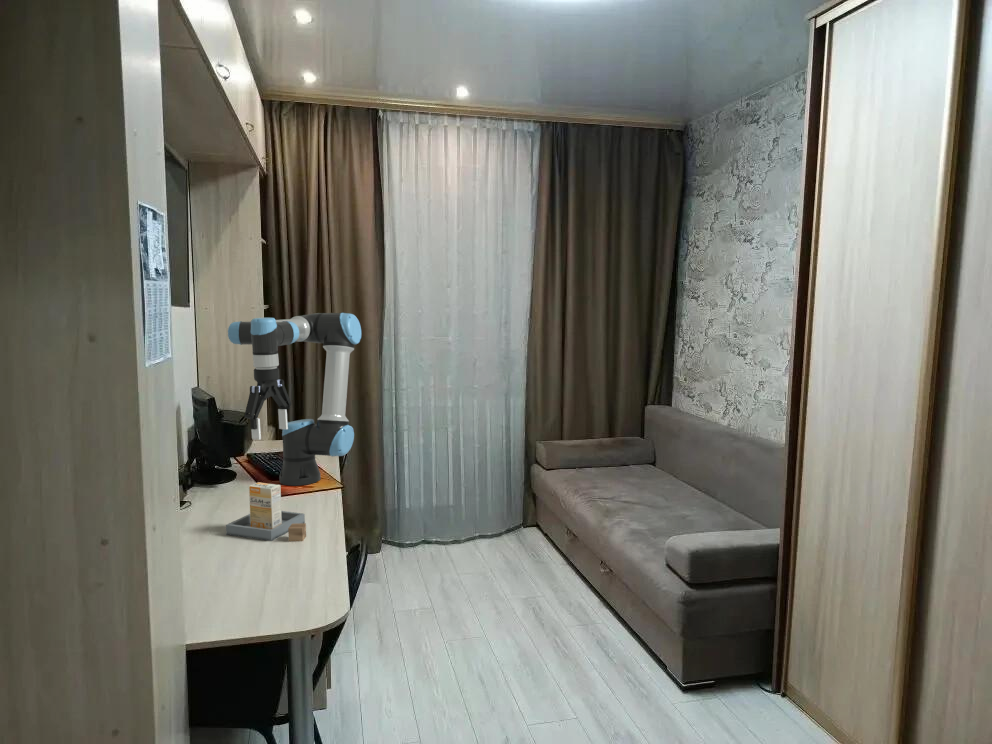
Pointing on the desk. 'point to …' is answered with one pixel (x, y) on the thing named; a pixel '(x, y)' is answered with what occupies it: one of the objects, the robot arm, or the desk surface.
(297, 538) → the walnut block
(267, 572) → the desk surface
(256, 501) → the supplement box
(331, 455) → the robot arm
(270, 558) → the desk surface
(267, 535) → the tray
